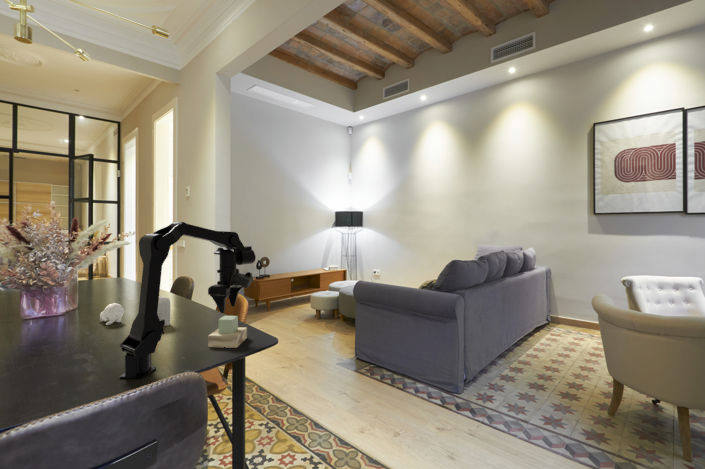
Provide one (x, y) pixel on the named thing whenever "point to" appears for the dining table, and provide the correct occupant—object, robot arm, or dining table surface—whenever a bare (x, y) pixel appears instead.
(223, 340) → the oak block
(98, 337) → the dining table surface
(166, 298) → the photo printer
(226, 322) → the sage cube
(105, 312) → the white animal figurine
